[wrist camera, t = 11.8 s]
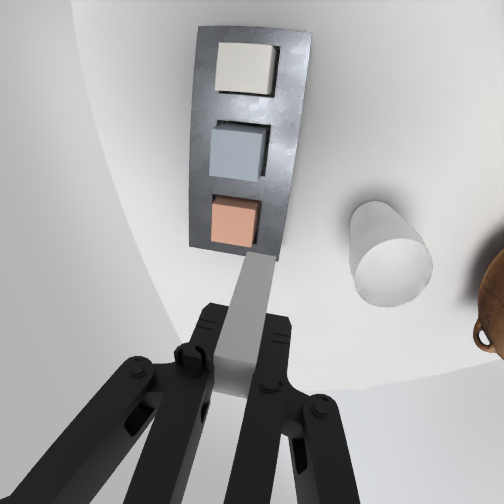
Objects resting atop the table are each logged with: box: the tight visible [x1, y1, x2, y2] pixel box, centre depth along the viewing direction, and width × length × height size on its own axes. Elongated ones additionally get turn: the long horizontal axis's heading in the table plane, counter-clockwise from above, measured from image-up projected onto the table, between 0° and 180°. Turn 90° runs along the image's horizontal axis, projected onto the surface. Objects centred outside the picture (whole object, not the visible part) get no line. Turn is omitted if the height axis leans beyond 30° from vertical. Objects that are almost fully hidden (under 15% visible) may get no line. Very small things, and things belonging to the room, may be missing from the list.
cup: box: [349, 201, 433, 307], centre depth 33 cm, size 9×9×12 cm
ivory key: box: [215, 42, 276, 94], centre depth 26 cm, size 5×5×5 cm
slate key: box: [209, 123, 268, 182], centre depth 31 cm, size 5×5×5 cm
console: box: [189, 26, 312, 262], centre depth 33 cm, size 28×12×4 cm, turn 174°
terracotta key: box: [211, 195, 260, 248], centre depth 37 cm, size 5×5×5 cm
